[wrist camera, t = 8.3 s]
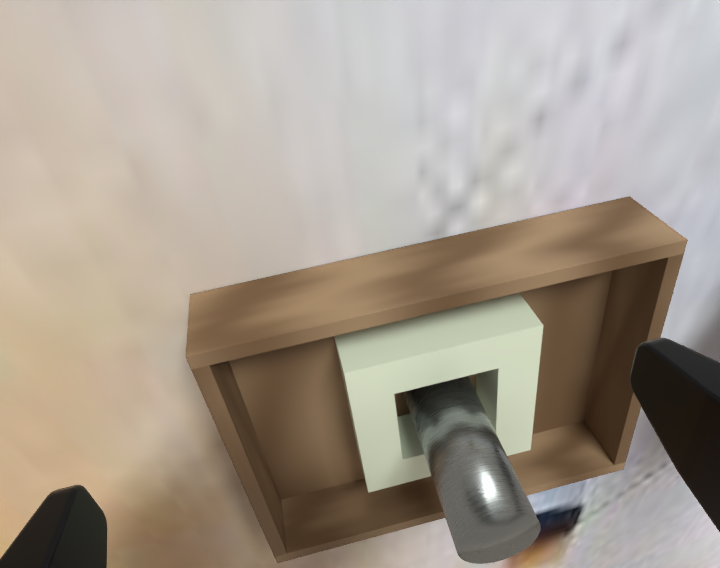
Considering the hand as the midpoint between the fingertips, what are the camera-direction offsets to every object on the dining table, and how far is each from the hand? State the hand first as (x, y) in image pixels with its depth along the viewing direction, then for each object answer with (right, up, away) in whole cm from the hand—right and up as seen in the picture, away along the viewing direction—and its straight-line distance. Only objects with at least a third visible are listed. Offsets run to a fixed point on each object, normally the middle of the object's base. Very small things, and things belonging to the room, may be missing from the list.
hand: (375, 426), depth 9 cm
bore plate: (+3, -2, +17) cm, 17 cm away
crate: (+3, -2, +17) cm, 17 cm away
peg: (+3, -2, +17) cm, 17 cm away
